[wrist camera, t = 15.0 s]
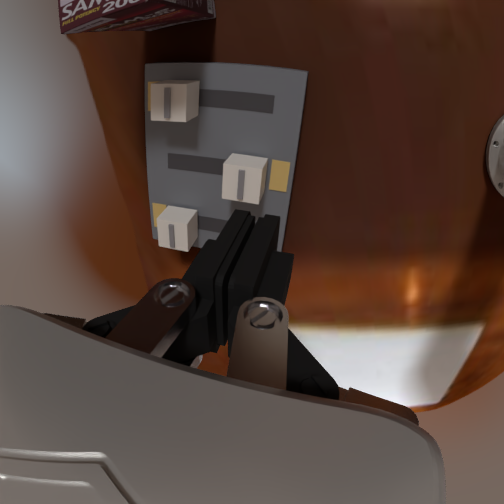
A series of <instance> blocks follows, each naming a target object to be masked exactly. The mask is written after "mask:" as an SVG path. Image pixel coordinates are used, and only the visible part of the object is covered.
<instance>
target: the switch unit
mask: <svg viewBox="0 0 504 504" xmlns="http://www.w3.org/2000/svg"><path fill="white" fill-rule="evenodd" d="M307 79H308V71H303V70H296V69H288V68H281V67H272V66H262V65H251V64H237V63H219V62H155V63H148V64H145V132H146V156H147V174H148V188H149V201H150V213H151V223H152V233H153V239H158V230H157V218H158V216H159V215H160V214H161V213H162V212H163V211H164V210H165V209H166V208H167V206H168V205H169V206H175V207H181V208H188V209H194V210H197V221H198V237H197V239H196V240H195V242H194V243H193V245H192V246H194V247H199V248H202V247H203V245H204V244H205V242H206V241H207V240H208V239H213V240H216V239H217V237H218V236H219V234H220V233H221V231H222V229H223V228H224V226H225V225H226V223H227V221H228V220H229V218H230V217H231V215H232V213H233V212H234V210H235V209H238V210H245V211H250V212H251V215H252V216H255V218H256V220H255V224H256V222H257V220H258V218H259V217H264V216H265V214H270V215H276V216H280V228H279V237H278V247H277V251H279V252H282V247H283V241H284V235H285V229H286V223H287V217H288V211H289V204H290V198H291V191H292V185H293V178H294V172H295V165H296V158H297V152H298V145H299V138H300V131H301V124H302V116H303V109H304V102H305V94H306V87H307ZM164 80H194V81H200V84H199V108H198V116H196V117H195V118H193V119H191V120H189V121H187V122H173V121H152V120H151V84H152V83H156V82H160V81H164ZM232 153H235V154H242V155H249V156H256V157H263V158H268V163H267V172H266V181H265V190H264V193H263V195H262V198H261V200H260V203H259V205H258V204H253V203H247V202H241V201H235V200H228V199H222V181H223V163H224V162H225V161H226V160H227V159H228V158H229V156H230V155H231V154H232Z"/></svg>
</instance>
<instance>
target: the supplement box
mask: <svg viewBox="0 0 504 504" xmlns="http://www.w3.org/2000/svg"><path fill="white" fill-rule="evenodd" d="M58 7H59V18H60V29H61V34H70V33H81V32H96V31H152V30H156V29H160V28H164V27H168V26H172V25H177V24H181V23H186V22H192V21H198V20H205V19H212V18H216V14H215V6H214V0H58Z"/></svg>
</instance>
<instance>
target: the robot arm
mask: <svg viewBox="0 0 504 504" xmlns="http://www.w3.org/2000/svg"><path fill="white" fill-rule="evenodd" d="M486 165H487V171H488V174H489V178H490V180H491V182H492V184H493V186H494V187H495V188H496V190H497V191H498V192H499V193H500V194H501V195H502V196H503V197H504V115H503V116H502V117H501V118H500V119H499V120H498V121H497V123H496V124H495V125H494V127H493V129H492V131H491V133H490V136H489V140H488V143H487V149H486ZM255 220H256V218H255V216H252V215H251V212H250V211H245V210H238V209H235V210H234V212H233V213H232V215H231V217H230V218H229V220H228V221H227V223H226V225H225V226H224V228H223V229H222V231H221V233H220V234H219V236H218V237H217V239H216V240H213V239H208V240H207V241H206V242H205V244H204V245H203V247H202V248H201V250H200V251H199V253H198V254H197V256H196V257H195V259H194V261H193V262H192V264H191V265H190V267H189V268H188V270H187V271H186V273H185V275H184V276H183V278H182V279H178V278H171V279H166V280H163V281H161V282H158V283H157V284H156V285H154V286H153V287H152V288H151V289H150V290H149V291H148V293H147V294H146V295H145V296H144V297H143V298H142V299H141V300H140V301H139V302H138V303H137V304H136V305H134V306H131V307H128V308H125V309H122V310H119V311H115V312H112V313H109V314H106V315H103V316H100V317H97V318H94V319H92V320H90V321H89V322H87V321H86V319H82V318H75V317H68V316H60V315H55V314H48V313H40V312H37V311H34V310H31V309H27V308H24V307H19V306H12V305H0V504H446V480H445V469H444V463H443V458H442V454H441V451H440V448H439V446H438V444H437V442H436V441H435V439H434V438H433V437H432V436H431V435H430V434H429V433H428V432H426V431H425V430H424V429H422V428H421V427H419V421H418V418H417V416H416V414H415V413H414V412H413V411H412V410H411V409H410V408H408V407H406V406H403V405H400V404H397V403H394V402H391V401H388V400H385V399H382V398H379V397H376V396H373V395H370V394H367V393H364V392H362V391H359V390H356V389H353V388H349V390H346V389H343V388H341V387H338V385H337V383H336V382H335V380H334V379H333V378H332V377H331V376H330V374H329V373H328V372H327V371H326V370H325V369H324V368H323V367H322V366H321V364H320V363H319V362H318V361H317V360H316V359H315V358H314V357H313V355H312V354H311V353H310V352H309V351H308V350H307V349H306V348H305V347H304V345H303V344H302V343H301V342H300V341H299V340H298V339H297V338H296V336H295V335H294V334H293V333H292V332H291V331H290V330H289V328H288V312H287V310H286V308H285V307H284V305H285V301H286V297H287V292H288V288H289V283H290V278H291V272H292V266H293V259H294V254H290V253H285V252H279V251H277V247H278V237H279V228H280V216H276V215H270V214H265V216H264V217H259V218H258V220H257V222H256V224H255ZM227 340H228V357H229V358H230V360H229V365H228V371H227V377H225V376H222V375H218V374H214V373H211V372H207V371H203V370H200V369H196V368H197V367H198V365H199V364H200V362H201V359H202V354H205V353H208V352H210V351H211V352H214V353H217V351H218V349H219V346H220V345H223V346H225V345H226V342H227Z"/></svg>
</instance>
